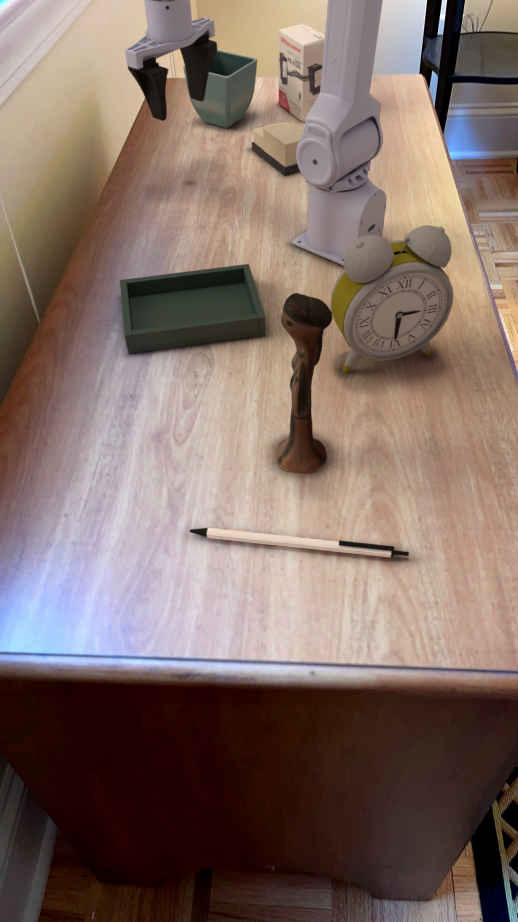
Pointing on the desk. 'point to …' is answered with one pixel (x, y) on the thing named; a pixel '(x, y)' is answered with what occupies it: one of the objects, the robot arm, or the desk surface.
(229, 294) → the dark green tray
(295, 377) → the figurine
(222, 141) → the desk surface
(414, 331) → the alarm clock
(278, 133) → the beige wooden block
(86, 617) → the desk surface
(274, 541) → the pen
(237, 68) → the flower pot
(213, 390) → the desk surface
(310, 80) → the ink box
